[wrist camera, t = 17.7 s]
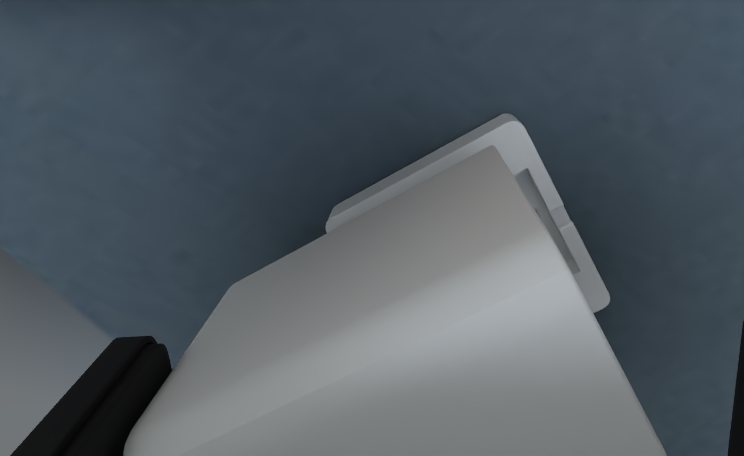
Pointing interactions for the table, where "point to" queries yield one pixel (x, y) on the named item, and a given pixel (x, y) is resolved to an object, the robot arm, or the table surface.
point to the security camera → (414, 329)
